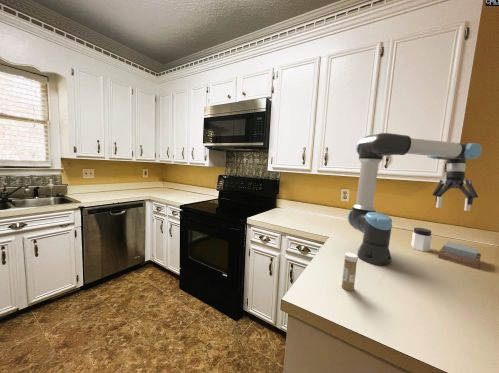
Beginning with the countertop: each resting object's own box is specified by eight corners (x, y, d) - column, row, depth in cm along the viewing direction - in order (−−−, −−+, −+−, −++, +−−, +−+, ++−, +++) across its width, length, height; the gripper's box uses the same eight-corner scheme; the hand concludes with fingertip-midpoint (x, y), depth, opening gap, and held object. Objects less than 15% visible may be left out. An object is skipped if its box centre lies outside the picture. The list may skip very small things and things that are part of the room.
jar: (420, 246, 132) (423, 227, 131) (432, 251, 124) (436, 231, 123) (407, 245, 131) (410, 227, 130) (418, 251, 123) (422, 231, 122)
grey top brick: (475, 260, 106) (476, 253, 106) (443, 251, 115) (444, 245, 115) (476, 254, 114) (477, 248, 114) (446, 247, 123) (447, 241, 123)
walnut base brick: (478, 269, 104) (479, 260, 104) (438, 257, 116) (439, 250, 115) (479, 261, 114) (481, 253, 114) (442, 251, 125) (444, 244, 125)
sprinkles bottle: (354, 292, 79) (358, 258, 78) (341, 289, 81) (345, 255, 79) (353, 286, 83) (357, 253, 82) (341, 283, 85) (344, 251, 83)
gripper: (490, 171, 107) (486, 212, 107) (436, 173, 132) (433, 207, 131) (479, 169, 106) (475, 211, 105) (427, 172, 130) (423, 206, 130)
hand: (452, 209), depth 118 cm, fingers open, 13 cm apart
